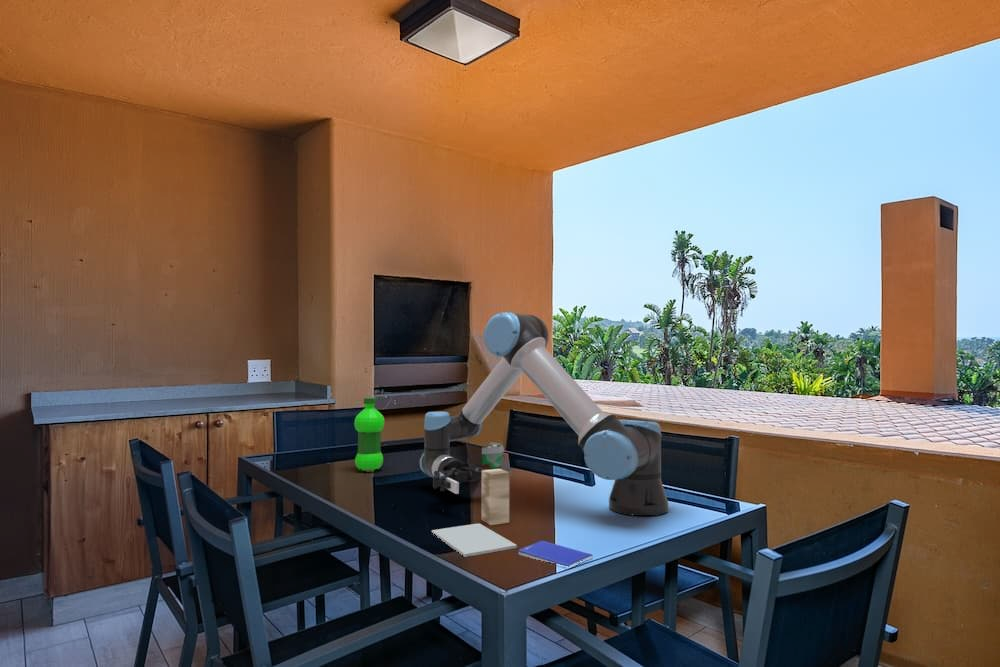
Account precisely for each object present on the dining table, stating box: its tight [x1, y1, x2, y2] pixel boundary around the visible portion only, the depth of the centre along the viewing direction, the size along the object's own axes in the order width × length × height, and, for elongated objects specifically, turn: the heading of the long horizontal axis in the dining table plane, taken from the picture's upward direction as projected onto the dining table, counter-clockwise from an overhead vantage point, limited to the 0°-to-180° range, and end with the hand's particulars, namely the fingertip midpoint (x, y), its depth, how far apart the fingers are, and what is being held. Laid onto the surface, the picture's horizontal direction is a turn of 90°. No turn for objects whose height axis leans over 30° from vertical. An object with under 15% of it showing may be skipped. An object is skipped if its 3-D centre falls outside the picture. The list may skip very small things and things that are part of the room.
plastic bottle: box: [353, 397, 385, 470], centre depth 205 cm, size 10×10×25 cm
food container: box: [481, 442, 505, 470], centre depth 198 cm, size 12×6×10 cm, turn 168°
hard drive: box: [518, 540, 593, 567], centre depth 119 cm, size 2×8×12 cm
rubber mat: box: [431, 522, 518, 558], centre depth 129 cm, size 18×12×1 cm, turn 28°
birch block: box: [480, 468, 510, 526], centre depth 144 cm, size 5×5×12 cm
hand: (482, 485), depth 150 cm, fingers open, 13 cm apart
